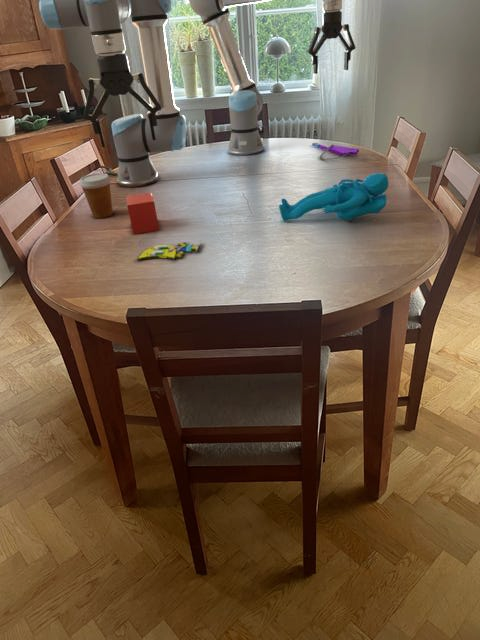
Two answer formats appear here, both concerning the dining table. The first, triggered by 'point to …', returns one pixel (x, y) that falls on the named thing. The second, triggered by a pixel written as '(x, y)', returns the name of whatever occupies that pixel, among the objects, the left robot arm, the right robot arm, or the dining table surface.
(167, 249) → the toy
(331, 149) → the musical instrument
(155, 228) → the brick
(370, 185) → the toy
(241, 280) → the dining table surface
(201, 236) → the dining table surface
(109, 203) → the disposable coffee cup
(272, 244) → the dining table surface
